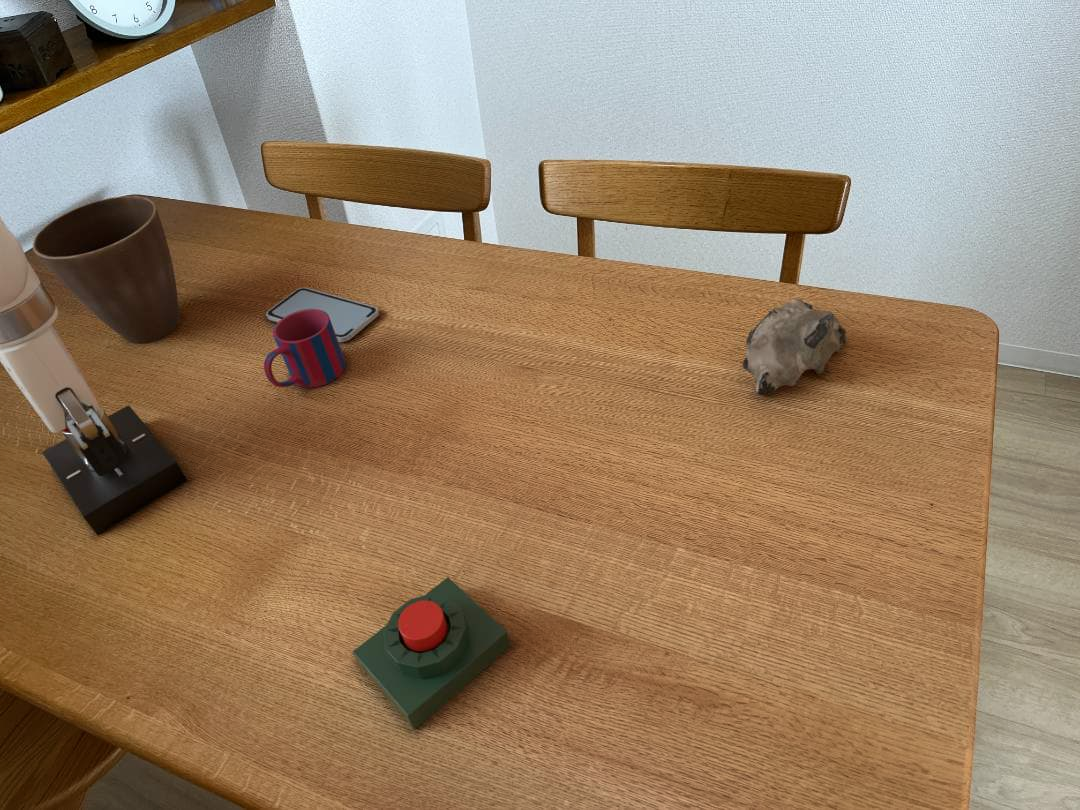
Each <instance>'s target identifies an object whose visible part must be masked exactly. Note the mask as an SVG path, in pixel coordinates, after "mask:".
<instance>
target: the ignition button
mask: <svg viewBox="0 0 1080 810" xmlns="http://www.w3.org/2000/svg"><path fill="white" fill-rule="evenodd" d="M398 627H399V631H400V633H401V635H402V637H403V640H404V642H405V644H406V645H407V646H408V647H409V648H410V649H412V650H415V651H420V652H423V651H428V650H431V649H434V648H435V647H437V646H438V645H439V644H440V643H441V642H442V641H443V640H444V638H445V636H446V634H447V623H446V620H445V617H444V614H443V612H442V609H441V608H440V606H439V605H437V604H436V603H434V602H432V601H418V602H415V603H413V604H411V605H409V606H408V607H407V608H406V609H405V610H404V611H403V612H402V614H401V615H400V618H399V622H398Z"/></svg>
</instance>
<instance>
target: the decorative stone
mask: <svg viewBox="0 0 1080 810" xmlns="http://www.w3.org/2000/svg"><path fill="white" fill-rule="evenodd" d="M846 333H847V331H846V329H845V328H844V327H842V325H841V323H840V321H839V320H838V318H837V316H836V315H835V314H834V312H832V311H828V310H822V309H821V310H820V309H815V308H814V305H812V304H810V303H808V302H806V301H805V302H804V300H802V299H800V298H794V299H793V300H791V301H790V302H786V303H784V304H782V305H781V306H780V307H775V308H772V309H771V310H770V311H769V312H768V313H767V314H766V315H765V316H764V317H763V319H761V320H760V322H759V323H758V324H757V325H756V326H755V327H754V328H753V329H752V330H750V331H749V333H748V336H747V337H746V340H745V346H746V355H745V359H743V362H742V364H741V366H742V368H743V369H744V370H745V371H747V372H748V373H750V375H752V376H753V378H754V381H755V393H756V394H757V395H759V396H760V397H764V396H768V395H772V394H773V393H775V391H776V390H777V389H778V388H780V387H781V386H788V387H789V386H790V387H794V386H795V385H797V384H798V382H799V380H800V378H801V376H802V375H803V374H804V372H805V371H806V370H813V371H814V373H815V374H817V375H821V374H823V372H824V371H825V367H826V364H827V363H828V362H829V360H830V358H831V356H832V355H833V354H834V353H835V352H839V351H840V350H841V349H842V348H843V347H844V345H845V344H846V343H847V341H846V340H847V335H846Z"/></svg>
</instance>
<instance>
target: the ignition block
mask: <svg viewBox="0 0 1080 810" xmlns="http://www.w3.org/2000/svg"><path fill="white" fill-rule="evenodd" d="M418 601H432V602H434V603H436V604H437V605H439V606H440V608H441V609H442V612H443V614H444V617H445V620H446V623H447V634H446V636H445V638H444V640H443V641H442V642H441V643H440V644H439V645H438V646H437V647H435V648H434V649H431V650H428V651H423V652H420V651H415V650H412V649H410V648H409V647H408V646H407V645H406V644H405V642H404V640H403V637H402V635H401V633H400V631H399V627H398V622H399V618H400V615H401V614H402V612H403V611H404V610H405V609H406V608H407V607H408V606H409V605H411V604H413V603H415V602H418ZM510 641H511V640H510V637H509V634H508V631H507V630H506V628H504V627H503V626H502V625H501V624H500V623H498V622H497V620H495V619H494V618H493V617H492V616H491V615H490V614H489V613H488V612H487V611H485V609H483V607H481V606H480V605H479V604H478V603H477V602H476V601H475V600H474V599H473V598H472V597H470V596H469V595H468V594H467V592H465V591H464V590H463V589H462V588H461V587H460V586H458V585H457V583H456V582H454V580H452V579H451V578H450V577H448V576H447V577H446V578H445V579H443V580H442V581H441V582H440V583H438V584H437V585H435V586H434V587H433V588H431V589H430V590H429V591H428V592H427V593H426V594H424V595H422V596H417V597H414V598H410V599H409V600H407V601H406V602H405V603H404V604H402V605H401V606H399V607H398V608H397V609H396V610H394V611H393V612H392V613H391V616H390V618H389V620H388V621H387V623H386V625H384V626H383V627H382V628H380V630H378V631H377V632H376V633H375V634H373V635H372V636H370V637H369V638H367V640H366V641H364V642H363V643H362V644H360V645H359V646H358V647H357V648H355V649H354V650H352V654H353V656H354V659H355V660H356V662H357V664H358V666H359V667H360V668H361V670H362V671H363V673H365V674H366V675H367V677H368V678H369V680H371V681H372V683H373V684H374V685H375V686H376V687H377V689H378V690H379V691H380V692H381V693H382V694H383V696H384V697H385V698H386V699H387V700H388V701H389V703H391V705H392V706H393V707H394V708H395V709H396V711H397V712H398V713H399V714H400V715H401V716H402V717H403V719H404V720H405V721H406V722H407V723H408V724H409V726H410V727H411V728H412V729H413V730H414V731H415V730H416V729H418V728H419V727H420V726H421V725H422V724H423V723H425V722H426V721H427V720H428V719H429V718H431V716H432V715H433V714H435V713H436V712H437V711H438V710H439V709H441V707H443V706H444V705H445V704H446V703H447V702H448V701H450V700H451V699H452V698H453V697H454V696H455V695H456V694H457V693H459V692H460V691H461V690H462V689H463V688H464V687H466V686H467V685H468V684H469V683H471V682H472V681H473V680H474V679H475V678H476V677H478V676H479V675H480V674H481V673H482V672H483V671H485V670H486V668H487V667H489V666H490V665H491V664H492V663H493V662H494V661H496V660H497V659H498V658H499V657H500V656H501V655H503V654H504V653H505V652H506V651H507V650H509V649H510V647H511V646H512V645H511V642H510Z"/></svg>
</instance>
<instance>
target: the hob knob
mask: <svg viewBox="0 0 1080 810" xmlns="http://www.w3.org/2000/svg"><path fill="white" fill-rule="evenodd" d="M82 408H83V409H84V410H85V411H87V410H88V409H87V408H86V406H84V407H82ZM95 413H96V412H95ZM96 414H97V416H98V417H99V419H100V420H101V422H102V423H103V425H104V426H105V427H106V429H107V430H108V431H109V430H110V431H111V432H112V434H113V435H114V437H115V438H116V440H117V441H118V443H119V444H120V446H121V447H122V449H123V450H124V452H125V453H126V454H127V451H128V447H127V445H126V443H125V442H124V440H123V439H122V437H121V436H120V434H119V433H118V431H117V430H116V428H115V426H114V425H113V423H112V422H111V420H110V419H109V417H108V416H109V415H108V414H107V413H106V411H105V410H104V408H103V407H102V406H100V407H99V410H98V412H97V413H96ZM66 418H67V420H70V419H72V417H71V415H70V414H68V415H67V416H66ZM90 419H91V420H92V422H93V423H94V425H95V422H94V421H93V419H92V418H91V417H90ZM74 427H75V428H76V430H77V431H78V432H79V434H80V432H82V431H81V430H80V428H79V427H78V425H75V426H74ZM60 433H61V434H62V435H63V436H64V438H65V439H67V440H68V442H69V443H70V444H71V446H72V447H73V449H74V450H75V451H76V453H77V454H78V455H79V457H80V458H81V460H82V461H83V462H84V464H85V465H86V467H87V468H88V469H90V470H93V471H95V470H94V469H93V467H92V466H91V465H90V463H89V462H88V460H87V459H86V457H85V456H84V455H83V453H82V452H81V450H80V449H79V446H81V445H80V444H79V443H78V441H77V440H76V438H75V437H74V435H73V434H72V433H71V431H70V430H69V428H68V427H67V426H66V429H64V430H62V431H60Z"/></svg>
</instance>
